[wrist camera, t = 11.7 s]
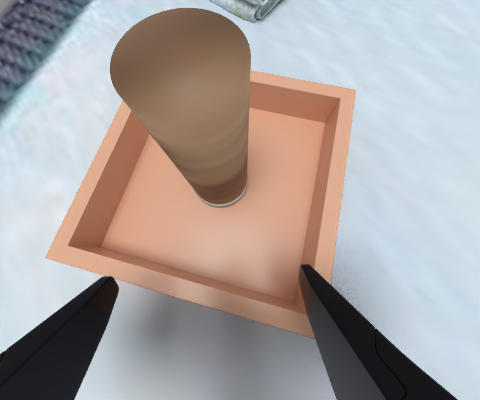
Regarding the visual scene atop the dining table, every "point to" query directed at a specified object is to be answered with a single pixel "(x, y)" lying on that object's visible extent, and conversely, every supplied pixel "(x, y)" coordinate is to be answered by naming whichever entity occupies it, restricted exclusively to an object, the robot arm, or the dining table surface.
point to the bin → (221, 219)
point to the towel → (248, 8)
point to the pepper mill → (191, 95)
